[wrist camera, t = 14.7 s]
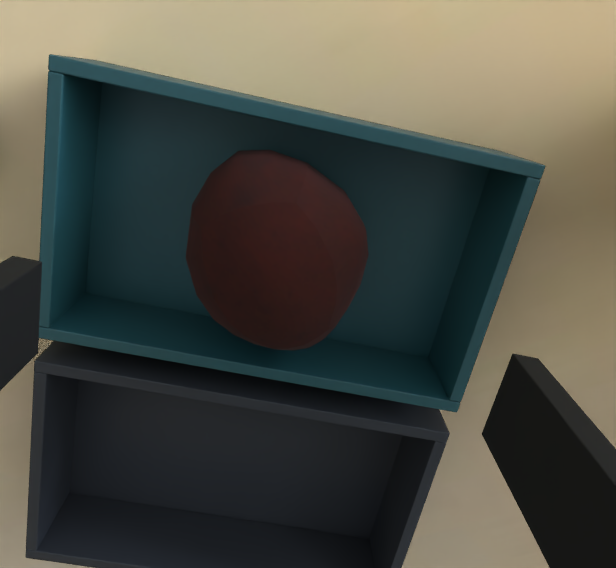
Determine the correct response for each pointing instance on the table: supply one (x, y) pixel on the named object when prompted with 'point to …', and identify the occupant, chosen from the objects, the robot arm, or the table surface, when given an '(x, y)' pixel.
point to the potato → (275, 250)
